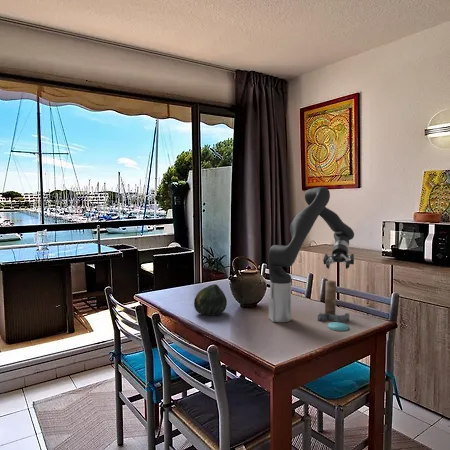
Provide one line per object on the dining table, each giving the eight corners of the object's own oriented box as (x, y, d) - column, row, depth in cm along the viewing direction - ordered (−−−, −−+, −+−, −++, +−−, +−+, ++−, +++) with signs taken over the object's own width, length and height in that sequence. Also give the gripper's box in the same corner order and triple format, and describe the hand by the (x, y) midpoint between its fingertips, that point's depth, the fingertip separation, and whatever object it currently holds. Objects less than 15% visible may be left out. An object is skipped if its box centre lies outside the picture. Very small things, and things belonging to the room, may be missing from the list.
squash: (188, 299, 186) (196, 280, 176) (215, 296, 193) (225, 278, 183) (196, 325, 177) (205, 306, 168) (225, 321, 184) (236, 303, 174)
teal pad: (333, 331, 156) (333, 329, 156) (324, 324, 165) (324, 323, 165) (352, 330, 158) (352, 328, 158) (342, 323, 166) (342, 321, 166)
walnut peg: (327, 317, 174) (328, 282, 173) (323, 314, 179) (323, 280, 177) (337, 317, 175) (337, 282, 174) (332, 314, 180) (333, 280, 178)
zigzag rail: (318, 322, 168) (318, 315, 168) (316, 318, 173) (316, 311, 173) (350, 322, 167) (350, 315, 167) (347, 319, 172) (347, 312, 172)
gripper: (325, 244, 197) (321, 260, 184) (354, 243, 191) (352, 260, 178) (327, 256, 200) (322, 273, 187) (355, 256, 194) (353, 274, 181)
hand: (337, 267), depth 182 cm, fingers open, 8 cm apart
